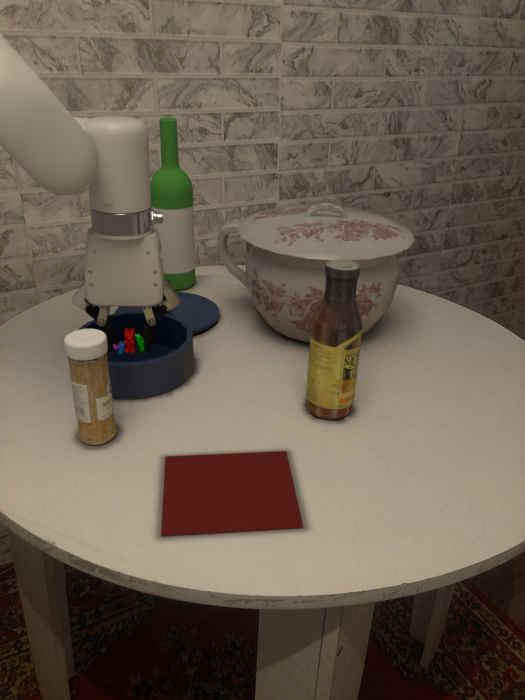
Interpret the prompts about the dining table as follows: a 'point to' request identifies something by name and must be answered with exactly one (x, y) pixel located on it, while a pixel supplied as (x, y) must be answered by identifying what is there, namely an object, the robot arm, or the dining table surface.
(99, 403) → the spice jar
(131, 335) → the gummy candies
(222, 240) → the chamber pot
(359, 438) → the dining table surface
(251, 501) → the cloth
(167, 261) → the wine bottle
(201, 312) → the lid
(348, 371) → the sauce bottle
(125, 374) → the pan
